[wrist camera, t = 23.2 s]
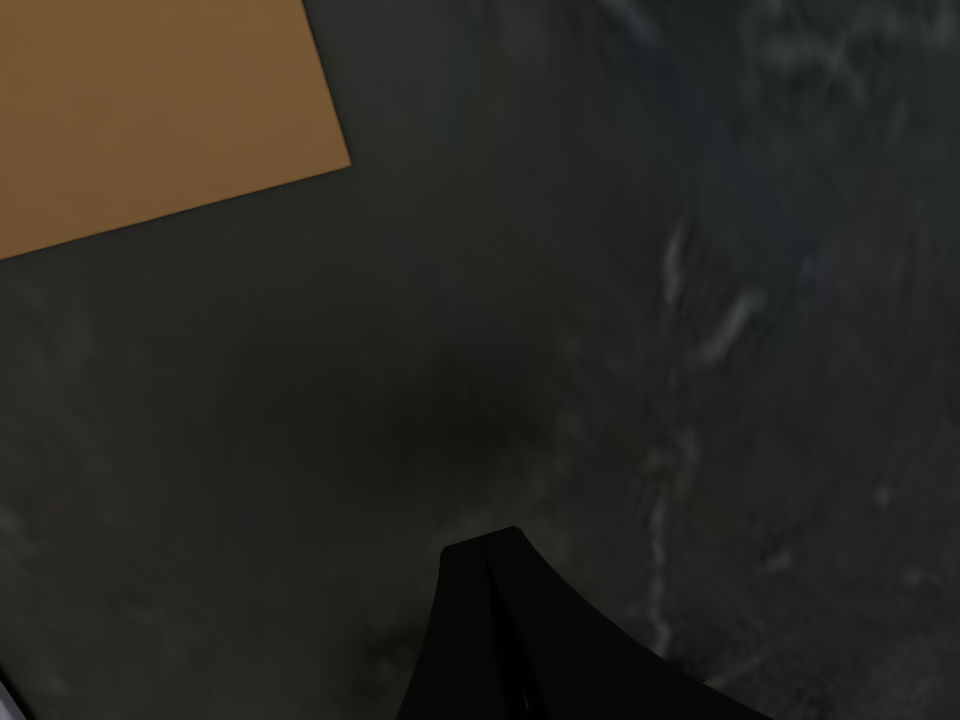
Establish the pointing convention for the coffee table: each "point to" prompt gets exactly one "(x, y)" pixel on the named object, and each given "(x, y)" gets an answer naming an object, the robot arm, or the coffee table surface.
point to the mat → (153, 111)
